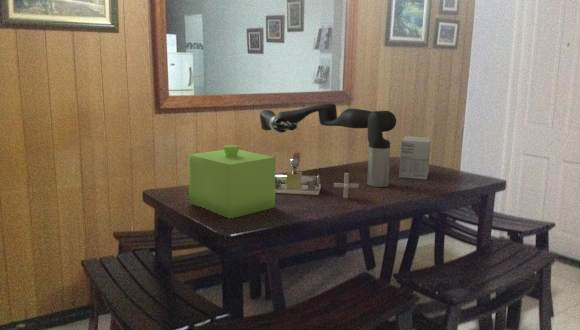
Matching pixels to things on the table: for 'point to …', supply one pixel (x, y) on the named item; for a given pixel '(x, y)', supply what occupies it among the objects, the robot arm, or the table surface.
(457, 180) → the table surface
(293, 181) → the valve fixture
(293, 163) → the valve lever
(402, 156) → the supplement box
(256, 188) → the canister
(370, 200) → the table surface
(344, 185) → the pipe connector
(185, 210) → the table surface
